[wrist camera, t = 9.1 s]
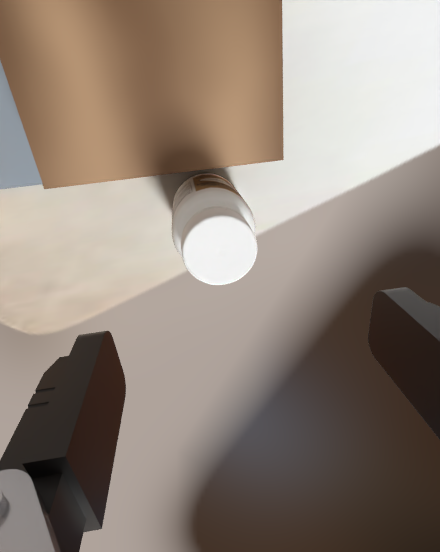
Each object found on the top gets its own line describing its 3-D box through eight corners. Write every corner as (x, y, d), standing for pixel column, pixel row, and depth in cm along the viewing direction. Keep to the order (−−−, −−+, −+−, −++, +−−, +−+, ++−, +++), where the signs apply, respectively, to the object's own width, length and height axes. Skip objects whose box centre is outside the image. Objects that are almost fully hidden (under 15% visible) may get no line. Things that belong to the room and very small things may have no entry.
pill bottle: (252, 195, 22) (287, 236, 15) (215, 249, 23) (232, 308, 16) (195, 157, 20) (205, 183, 13) (160, 217, 22) (152, 267, 15)
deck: (258, -42, 16) (281, -84, 13) (264, 151, 20) (283, 159, 17) (9, -21, 16) (-41, -59, 12) (68, 174, 20) (44, 189, 16)
